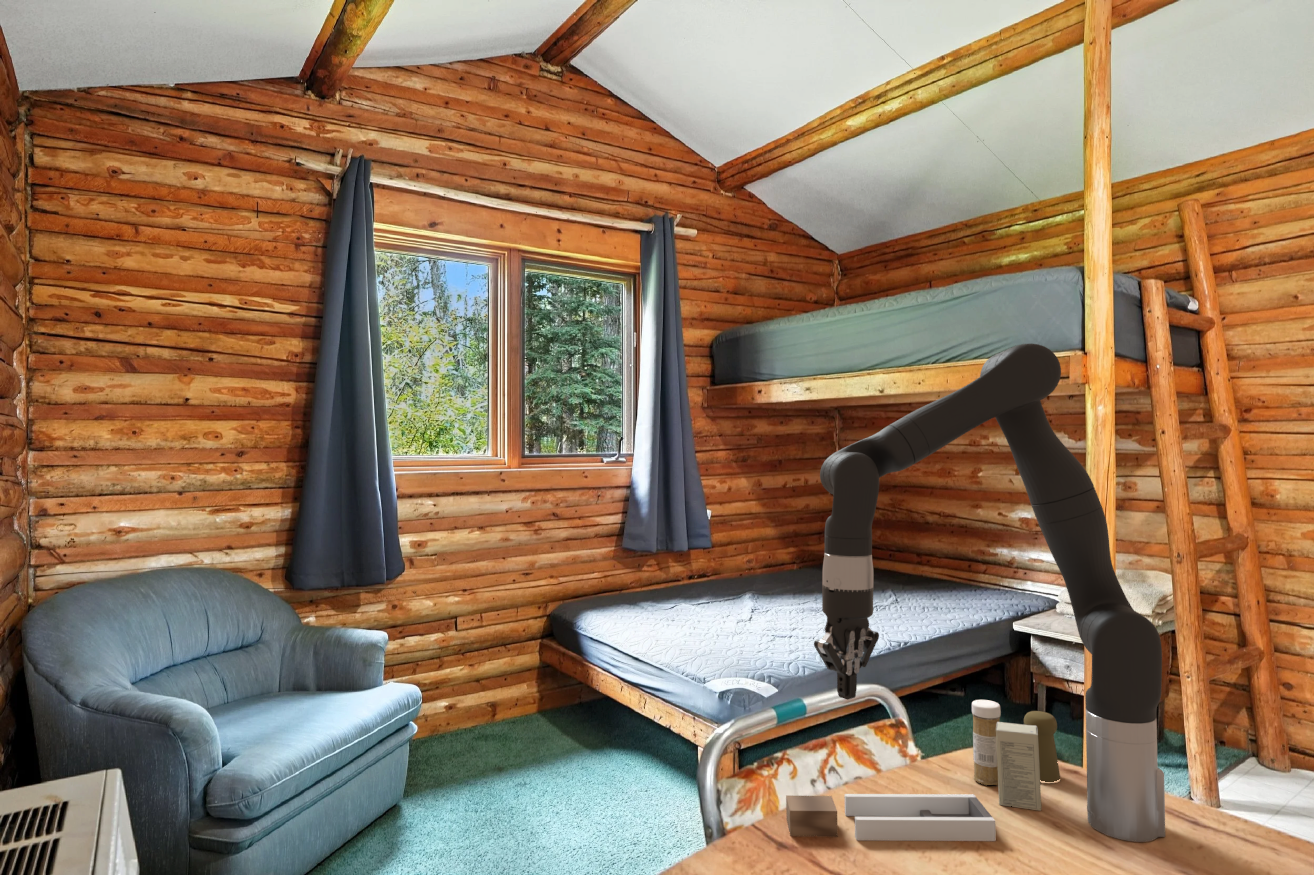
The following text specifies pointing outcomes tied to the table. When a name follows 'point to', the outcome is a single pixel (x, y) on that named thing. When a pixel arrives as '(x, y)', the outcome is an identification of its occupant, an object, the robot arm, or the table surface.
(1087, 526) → the robot arm
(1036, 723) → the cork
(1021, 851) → the table surface
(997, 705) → the sprinkles bottle
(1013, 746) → the skincare box
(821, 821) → the walnut block
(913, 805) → the trap channel
